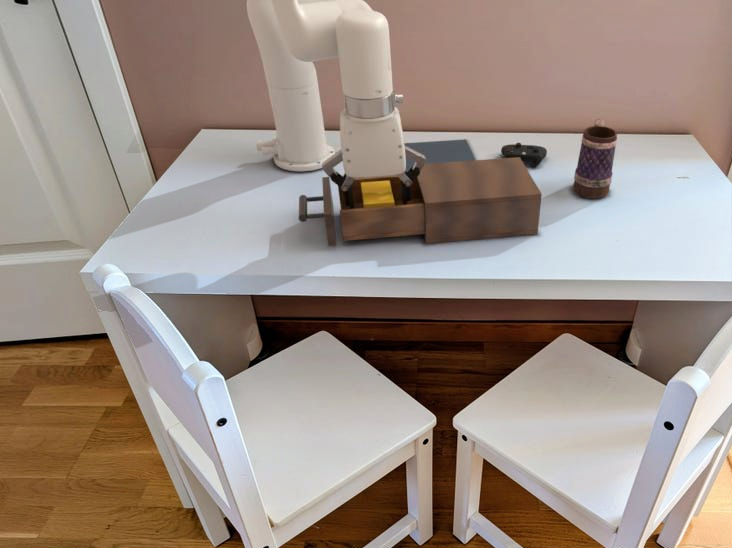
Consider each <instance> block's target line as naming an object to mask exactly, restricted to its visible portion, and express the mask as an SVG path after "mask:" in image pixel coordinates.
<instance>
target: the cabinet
mask: <svg viewBox="0 0 732 548" xmlns="http://www.w3.org/2000/svg"><path fill="white" fill-rule="evenodd" d="M417 181H418V185H419V188H420V192H421V195H422V198H423V202H424V205H425V234H423V236H424V241H425V244H426V245H431V244H442V243H452V242H464V241H465V242H466V241H474V240H475V241H477V240H486V239H487V240H488V239H497V238H508V237H509V238H510V237H520V236H521V237H522V236H532V235H533V236H534V235H538V233H539V224H540V214H541V206H542V205H541V204H542V196H543V195H542V192H541V190H540V188H539V187H538V185H537V184H536V182H535V180H534V178H533V176H532V175H531V174H530V172H529V170H528V168H527V167H526V165H525V163H524V162H522V160H521V159H520V157H516V158H505V157H504V158H490V159H489V158H488V159H475V160H473V161H458V162H444V163H429V164H425V165H424V166H423V168H422V170H421V171H420V174H419V175H418V176H417Z"/></svg>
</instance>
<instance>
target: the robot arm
mask: <svg viewBox="0 0 732 548" xmlns="http://www.w3.org/2000/svg"><path fill="white" fill-rule="evenodd" d="M246 12H247V17H248V20H249V24H250V25H251V26H250V27H251V30H252V32H253V35H254V38H255V41H256V43H257V47H258V51H259V54H260V59H261V62H262V67H263V72H264V76H265V83H266V86H267V91H268V96H269V100H270V106H271V111H272V117H273V121H274V126H275V132H276V138H271V140H256V143H255V144H256V150H257V152H262V155H270V154H271V155H272V154H273V162H274V164H275V165H276V166H277V167H279V168H280V169H282V170H285V171H290V172H312V171H317V170H320V169H322V171H323V172H324V173H325V174H326V175H327V177H329V179H330V181H331V182H333V183H334V184H335V185H336V186H337V187H338V186H339V187H341V189H342V190H343V191H344V198H345V205H346V206H350V209H354V202H353V193H352V185H351V184H352V183H353V181H354V180H355V178H372V177H385V176H396V175H397V176H398V177H399V178H400V179H401V181H400V184H401V200H402V204H403V205H407V201H411V195H410V186H411V185H412V182H413V181H414V180H415V179H416V178H417V176H418V175H419V174H420V171H421V170H422V168H423V166H424V165H425V163H426V158H425V156H424V155H422V154H420V153H418V152H416V151H415V150H413V149H411V148H409V147H407V146H405V145H404V143H405V139H404V131H403V126H402V125H403V124H402V119H401V116H400V110H399V109H398V108H397V105H399V104H404V95H403V93H397V92H395V91H394V87H393V70H392V55H391V41H390V40H391V39H390V38H391V37H390V28H389V27H390V26H389V22H388V19H387V18H386V16H385V15H384V14H383V13H381V12H379V11H377V10H373V8H371V7H370V5H369V4H368V3H367V2H366V1H364V0H246ZM337 58H338V61H339V70H340V79H341V89H342V95H343V102H344V103H343V105H344V109H342V110H341V111H340V117H339V137H340V149H339V150H338V151H336V150H335V149H334V147H333V146H331V145H329V144H327V137H326V130H325V124H324V117H323V109H322V103H321V95H320V89H319V88H320V87H319V81H318V75H317V69H316V67H315V64H314V62H319V61H325V60H330V59H337ZM406 157H407V158H409V159H411V160H413V161H415V164H414V165H413V166H412V167H411V168H410V170H409V171H408V172H407V171H406ZM341 163H342V164H343V171H344V173H343V175H342V174H341V173H339V172H338V171H336V170H335V167H336V166H337V165H339V164H341Z"/></svg>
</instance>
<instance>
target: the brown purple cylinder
mask: <svg viewBox="0 0 732 548" xmlns="http://www.w3.org/2000/svg"><path fill="white" fill-rule="evenodd" d="M617 142H618V133H617V131H616V130H615V129H613V128H612V127H611V128H610V127H608V126H605V120H603V119H601V118H597V119H595V120H594V125H593V126H588V127H587V128H585V129H584V131H583V133H582V137H581V144H580V150H579V154H578V160H577V164H576V168H575V171H574V176H573V177H574V178H573V179H574V182H573V186H572V191H573V192H574V193H575V194H576V195H577V196H579V197H582V198H584V199H588V200H589V199H590V200H598V199H602V198H605V197H606V196H607V195H608V194H609V193H610V187H611V184H612V179H613V166H614V159H615V153H616V146H617Z"/></svg>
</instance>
